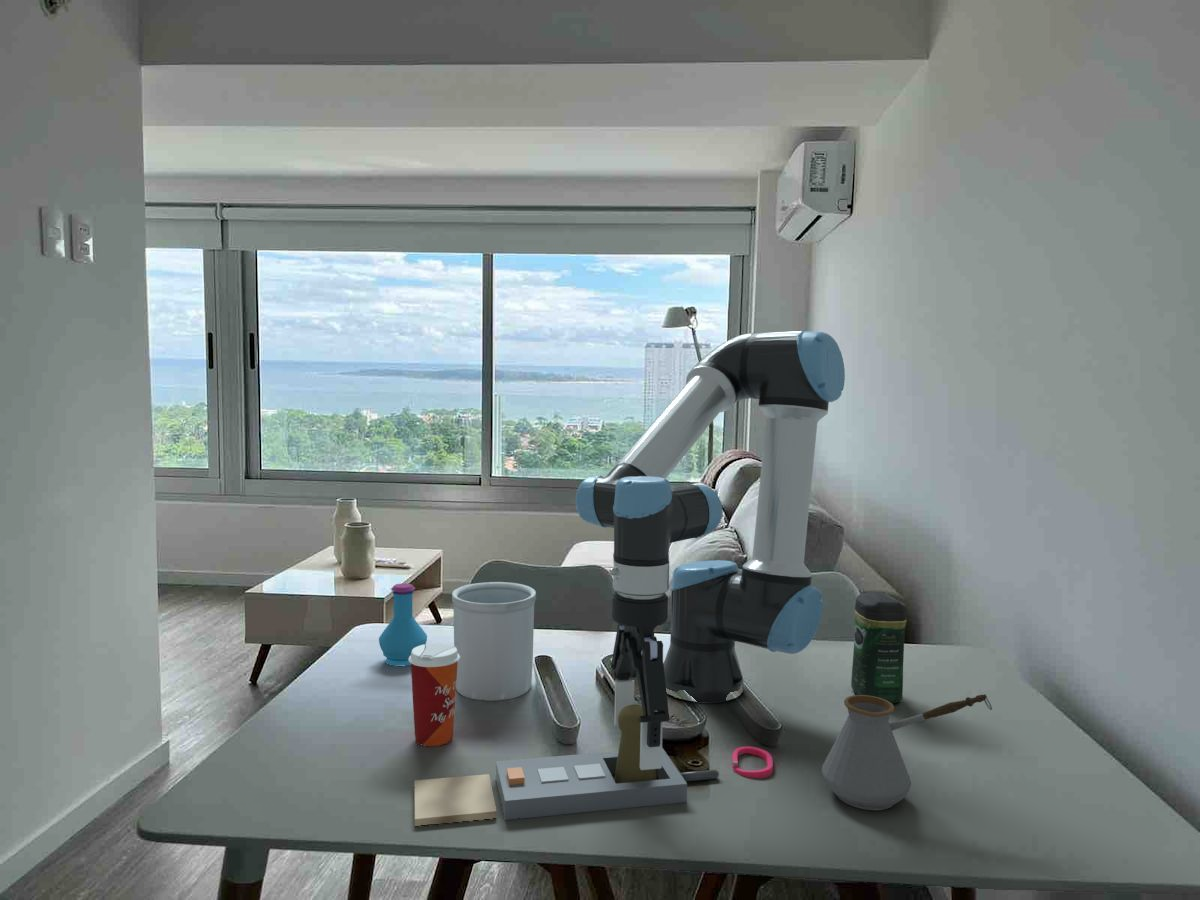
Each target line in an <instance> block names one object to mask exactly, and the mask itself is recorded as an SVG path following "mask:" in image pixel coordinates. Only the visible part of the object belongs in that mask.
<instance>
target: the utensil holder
mask: <svg viewBox="0 0 1200 900" xmlns="http://www.w3.org/2000/svg"><path fill="white" fill-rule="evenodd" d="M536 600H537V592H536V590H535V589H534V588H532V587H531V586H529V585H525V584H523V583H522V584H521V583H516V582H507V581H505V582H504V581H489V582H477V583H470V584H465V585H462V586H460V587H458V588H455V589H454V590H453V591H452V593H451V601H452V603H453V641H454V642H453V646H454V647H456V649H457V652H458V654H459V656H460V659H459V660H458V665H457V680H456V692H458V694H460V695H461V696H463V697H464V698H467V699H472V700H477V701H483V700H484V701H487V702H489V701H490V702H496V701H505V700H510V699H515V698H517V697H518V698H519V697H520V696H523V695H525V694H526V693H528V691H530V689H531V687H532V682H533V681H532V680H533V665H534V664H533V659H534V658H533V657H534V629H535V628H534V626H535V625H534V624H535V621H534V620H535V619H534V618H535V603H536Z"/></svg>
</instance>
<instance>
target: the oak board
mask: <svg viewBox="0 0 1200 900" xmlns="http://www.w3.org/2000/svg"><path fill="white" fill-rule="evenodd" d="M491 782H492V781H491V777H490V773H487V774H477V775H476V774H475V775H473V774H472V775H464V776H462V775H461V776H453V777H452V776H451V777H450V776H449V777H440V778H439V777H438V778H430V779H429V778H427V779H415V780H414V787H415V788H414V827H415V826H419V827H421V826H420V825H427V824H439V825H441V824H440V823H449V822H450V823H449V824H454V823H453V822H459V823H463V822H462V821H469V822H474V821H473V820H479V821H485V820H484V819H490V820H494V819H493V818H496V819H497V807H496V803H495V796H494V793H493V788H492V783H491Z"/></svg>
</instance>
